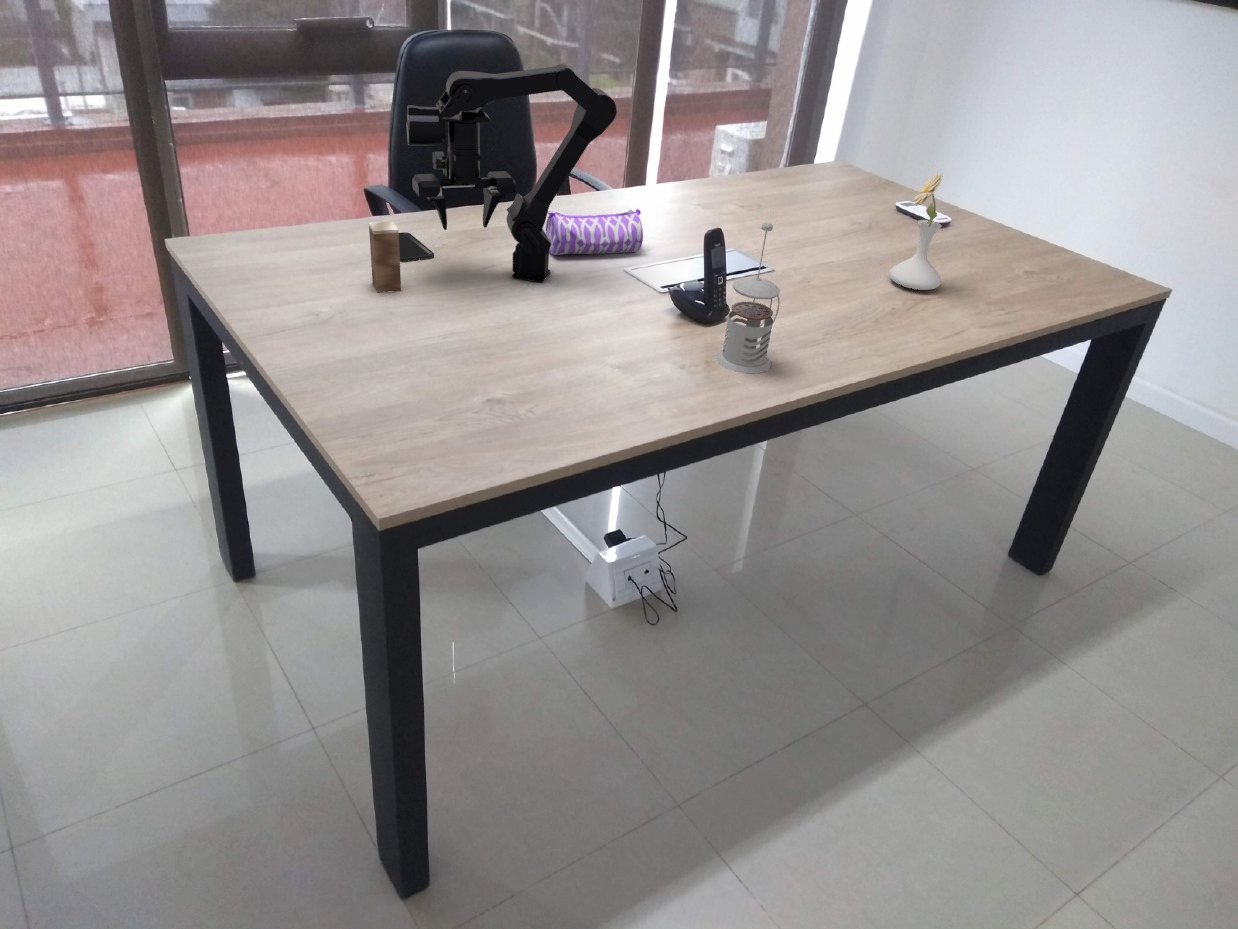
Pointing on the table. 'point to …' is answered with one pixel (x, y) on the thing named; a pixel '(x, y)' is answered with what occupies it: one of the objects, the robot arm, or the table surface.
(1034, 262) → the table surface
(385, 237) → the walnut block
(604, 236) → the pencil case
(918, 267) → the flower in vase
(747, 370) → the french press
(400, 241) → the phone
